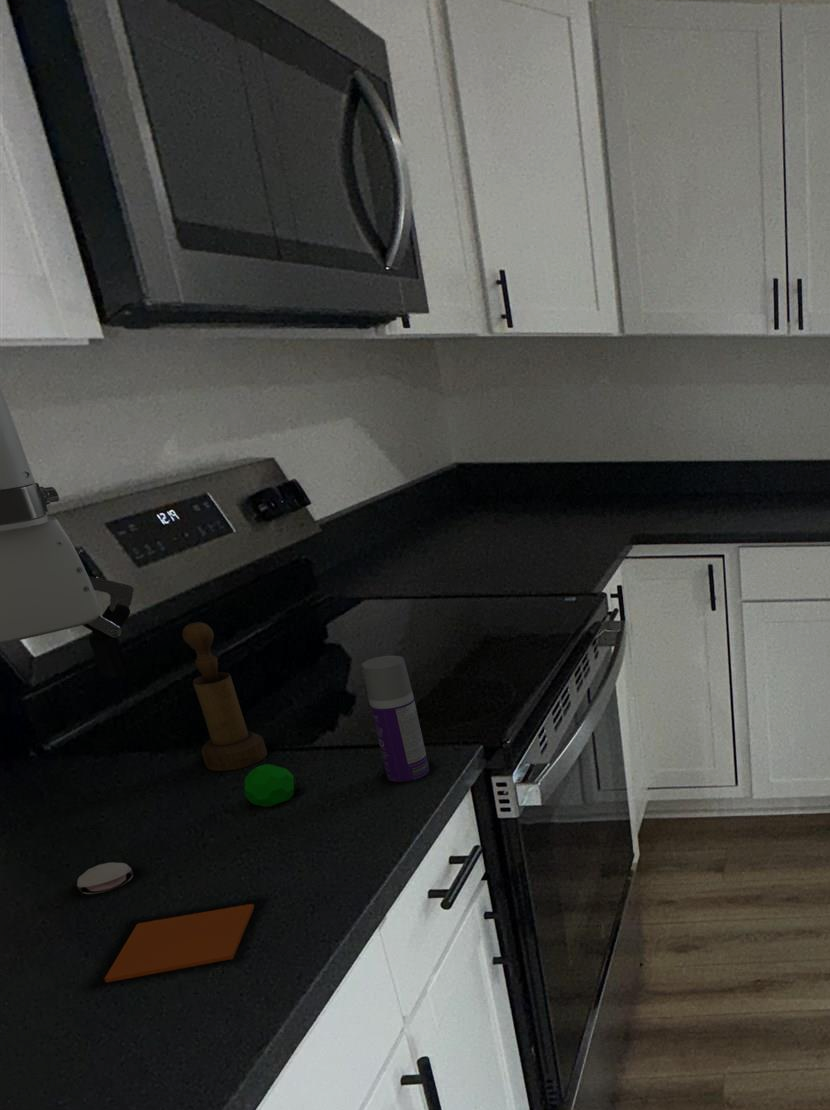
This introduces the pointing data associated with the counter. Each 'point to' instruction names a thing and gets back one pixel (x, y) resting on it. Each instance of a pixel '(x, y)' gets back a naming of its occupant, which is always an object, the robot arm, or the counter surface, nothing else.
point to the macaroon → (104, 877)
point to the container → (395, 718)
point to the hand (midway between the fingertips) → (57, 691)
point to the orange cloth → (181, 942)
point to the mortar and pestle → (221, 709)
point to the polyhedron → (269, 785)
